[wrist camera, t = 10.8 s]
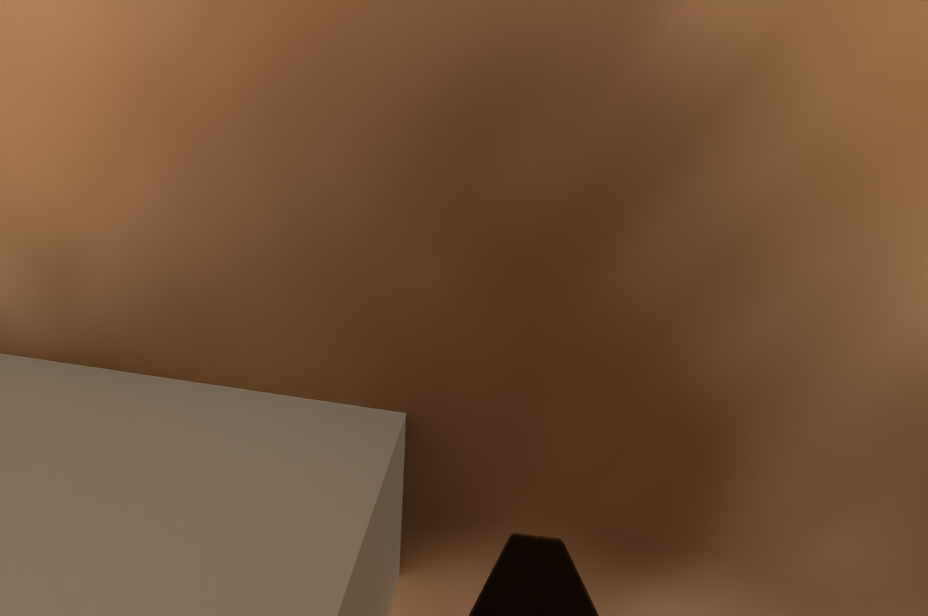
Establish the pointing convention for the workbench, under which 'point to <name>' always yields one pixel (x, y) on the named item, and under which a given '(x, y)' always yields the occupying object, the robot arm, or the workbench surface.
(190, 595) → the grey rectangular block
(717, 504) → the workbench surface
